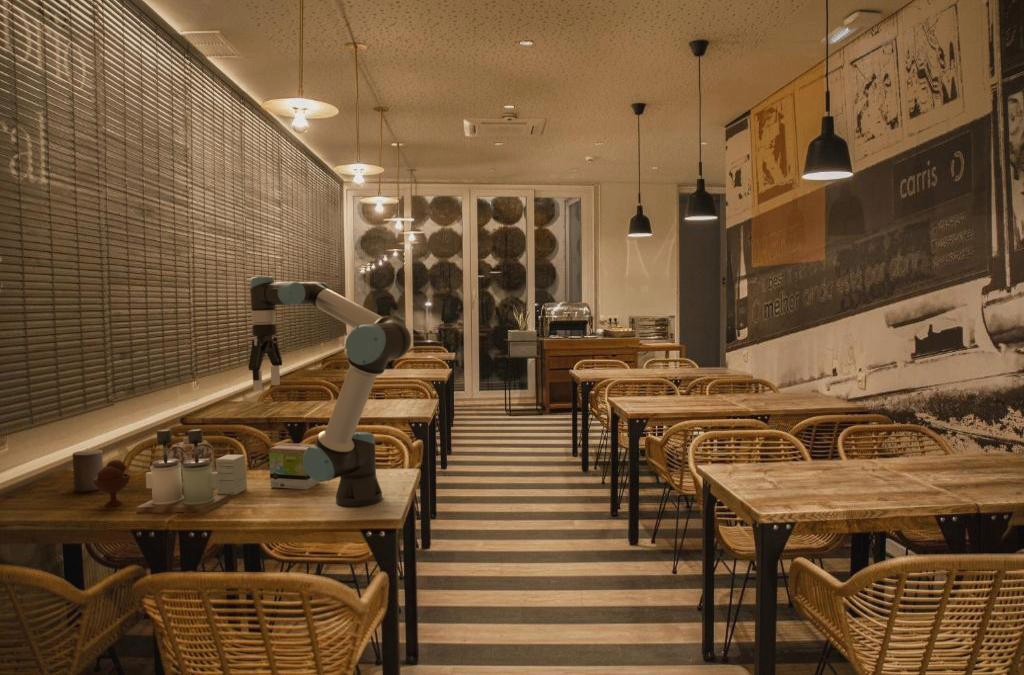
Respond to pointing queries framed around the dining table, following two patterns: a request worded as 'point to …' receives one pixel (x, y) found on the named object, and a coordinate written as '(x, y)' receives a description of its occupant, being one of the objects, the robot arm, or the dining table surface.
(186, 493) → the sage press body
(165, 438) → the cream press plunger
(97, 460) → the pillar candle
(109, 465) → the ice cream bowl
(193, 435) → the sage plunger
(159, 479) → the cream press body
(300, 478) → the tea box
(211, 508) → the walnut board
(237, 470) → the supplement box
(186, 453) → the decorative jar
